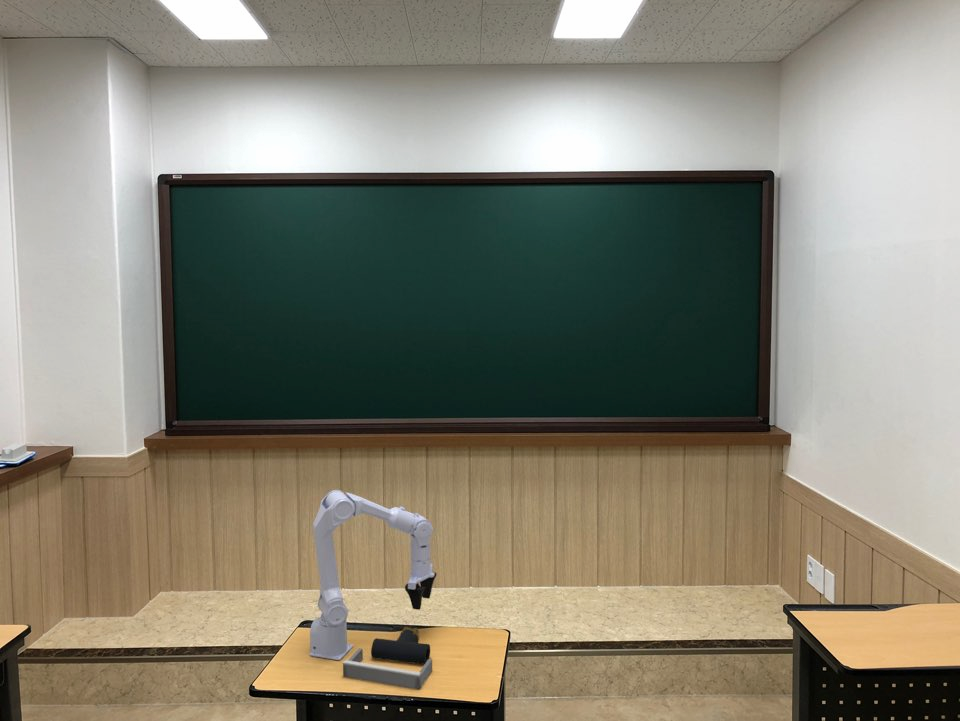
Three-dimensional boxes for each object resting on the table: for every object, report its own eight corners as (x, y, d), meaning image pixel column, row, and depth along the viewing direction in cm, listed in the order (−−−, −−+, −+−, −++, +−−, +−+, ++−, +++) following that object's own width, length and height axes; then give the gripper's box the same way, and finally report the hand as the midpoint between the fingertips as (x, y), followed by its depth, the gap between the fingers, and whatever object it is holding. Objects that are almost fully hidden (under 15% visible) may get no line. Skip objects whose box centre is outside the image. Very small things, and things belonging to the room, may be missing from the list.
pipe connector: (386, 622, 190) (436, 628, 186) (386, 640, 190) (437, 646, 187) (370, 643, 179) (424, 649, 175) (371, 662, 179) (424, 668, 176)
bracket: (343, 676, 171) (342, 662, 171) (359, 658, 180) (359, 644, 180) (419, 689, 165) (418, 674, 165) (432, 670, 174) (432, 656, 174)
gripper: (424, 568, 185) (425, 616, 186) (442, 550, 199) (443, 594, 200) (400, 566, 187) (401, 612, 188) (420, 547, 201) (421, 591, 202)
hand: (421, 603), depth 194 cm, fingers open, 7 cm apart
